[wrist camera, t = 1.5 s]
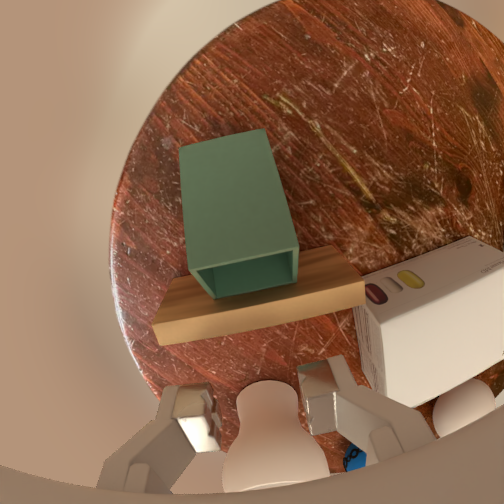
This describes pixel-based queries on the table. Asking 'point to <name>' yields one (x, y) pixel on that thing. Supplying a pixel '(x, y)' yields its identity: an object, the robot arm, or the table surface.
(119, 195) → the table surface
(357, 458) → the ornament
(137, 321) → the table surface
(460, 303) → the supplement box
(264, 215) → the green rectangular container
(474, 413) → the ornament
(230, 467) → the cup
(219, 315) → the stepped wooden molding
